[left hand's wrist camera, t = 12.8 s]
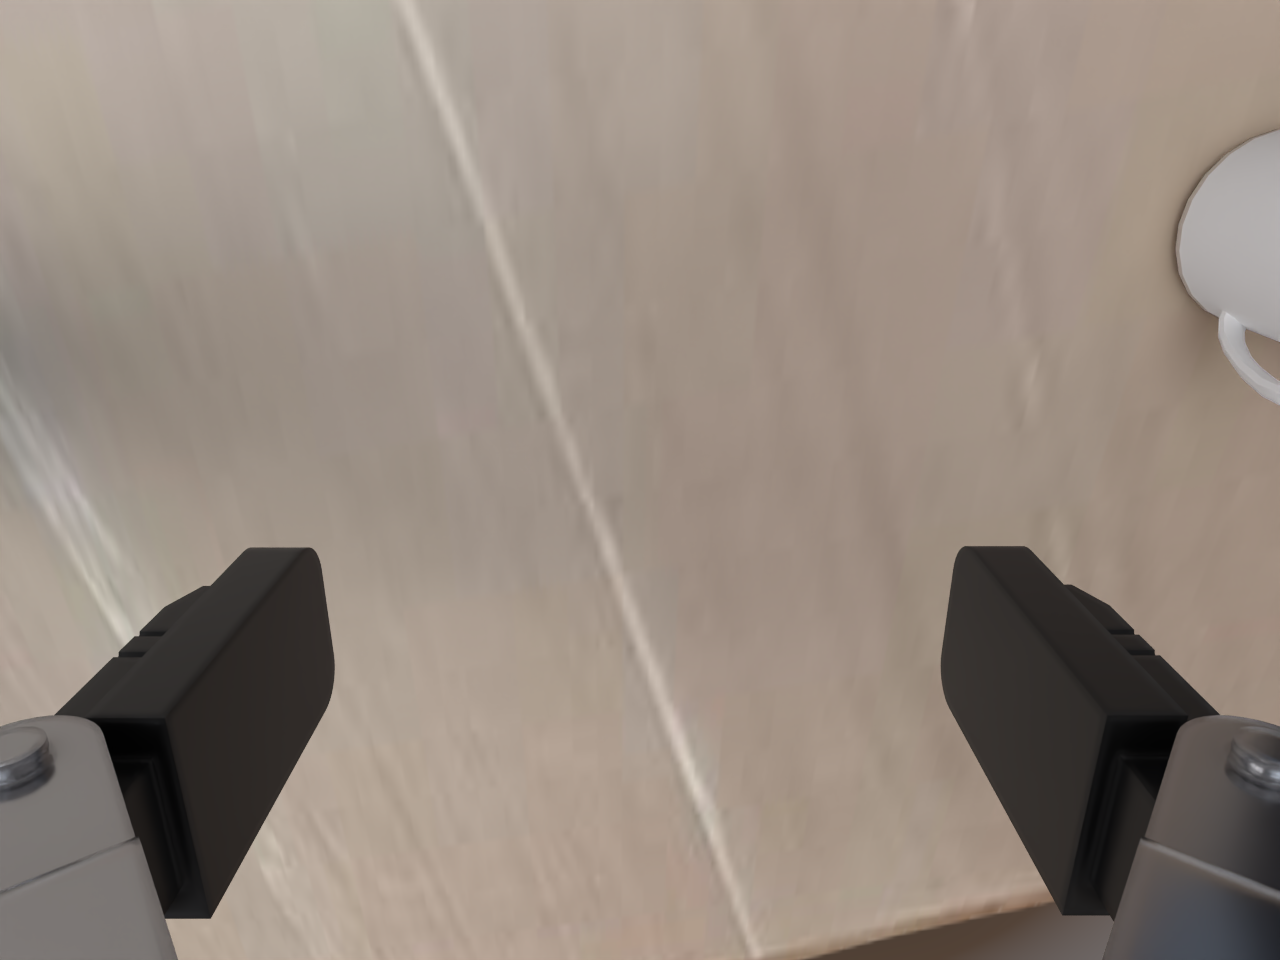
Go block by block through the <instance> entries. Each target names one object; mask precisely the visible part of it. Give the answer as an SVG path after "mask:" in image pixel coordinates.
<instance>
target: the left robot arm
mask: <svg viewBox="0 0 1280 960" xmlns="http://www.w3.org/2000/svg"><path fill="white" fill-rule="evenodd" d="M334 671H335V664H334V653H333V646H332V639H331V632H330V625H329V618H328V611H327V604H326V596H325V589H324V582H323V575H322V569H321V564H320V560H319V558H318V555H317V553H316V552H315V551H314V550H313V549H312V548H248V549H246V550H245V551H244V552H243V553H242V554H241V555H240V556H239V557H238V558H237V559H236V560H235V561H234V562H233V563H232V564H231V565H230V566H229V567H228V568H227V569H226V570H225V572H224V573H223V574H222V575H221V576H220V577H219V578H218V579H217V580H216V581H215V582H214V583H213V584H212V585H211V586H202V587H200V588H199V589H197V590H195V591H193V592H191V593H189V594H188V595H186V596H184V597H182V598H180V599H178V600H177V601H175V602H173V603H171V604H169V605H167V606H166V607H164V608H163V609H162V610H161V611H160V612H159V613H158V614H157V615H156V616H155V617H154V618H153V619H152V620H151V621H150V622H149V623H148V624H147V625H146V626H145V627H144V628H143V629H142V630H141V631H140V636H135V637H134V638H133V639H132V640H131V641H129V642H128V643H127V644H126V645H125V646H124V647H123V648H122V649H121V650H120V651H119V656H118V657H113V658H112V659H111V660H110V661H109V662H108V663H107V664H106V665H105V666H104V667H103V668H102V669H101V670H100V671H99V672H98V673H97V674H96V675H95V676H94V677H93V678H92V679H91V680H90V681H89V682H88V683H87V684H86V685H85V686H84V687H83V688H82V689H81V690H80V691H78V692H77V693H76V694H75V695H74V696H73V697H72V698H71V699H70V700H69V701H68V702H67V703H66V704H65V705H64V706H63V707H62V708H61V709H60V710H59V711H58V712H57V713H56V714H55V715H54V716H43V717H36V718H30V719H25V720H21V721H17V722H13V723H10V724H6V725H3V726H0V960H178V958H177V955H176V952H175V949H174V946H173V942H172V939H171V936H170V933H169V930H168V927H167V923H166V920H165V919H211V917H212V915H213V913H214V912H215V910H216V908H217V906H218V904H219V903H220V901H221V899H222V897H223V895H224V894H225V892H226V890H227V888H228V886H229V884H230V883H231V881H232V879H233V877H234V875H235V874H236V872H237V870H238V868H239V866H240V865H241V863H242V861H243V859H244V857H245V855H246V854H247V852H248V850H249V848H250V846H251V845H252V843H253V841H254V839H255V837H256V836H257V834H258V832H259V830H260V828H261V826H262V825H263V823H264V821H265V819H266V817H267V816H268V814H269V812H270V810H271V808H272V807H273V805H274V803H275V801H276V799H277V798H278V796H279V794H280V792H281V790H282V788H283V787H284V785H285V783H286V781H287V779H288V778H289V776H290V774H291V772H292V770H293V769H294V767H295V765H296V763H297V761H298V759H299V758H300V756H301V754H302V752H303V750H304V749H305V747H306V745H307V743H308V741H309V740H310V738H311V736H312V734H313V732H314V731H315V729H316V727H317V725H318V723H319V721H320V720H321V718H322V716H323V714H324V712H325V711H326V709H327V706H328V704H329V701H330V698H331V694H332V689H333V683H334ZM941 679H942V686H943V691H944V695H945V699H946V702H947V704H948V706H949V708H950V710H951V712H952V714H953V716H954V718H955V719H956V721H957V723H958V725H959V727H960V729H961V730H962V732H963V734H964V736H965V738H966V740H967V741H968V743H969V745H970V747H971V749H972V751H973V752H974V754H975V756H976V758H977V760H978V762H979V763H980V765H981V767H982V769H983V771H984V773H985V774H986V776H987V778H988V780H989V782H990V784H991V785H992V787H993V789H994V791H995V793H996V795H997V796H998V798H999V800H1000V802H1001V804H1002V806H1003V807H1004V809H1005V811H1006V813H1007V815H1008V817H1009V818H1010V820H1011V822H1012V824H1013V826H1014V828H1015V829H1016V831H1017V833H1018V835H1019V837H1020V839H1021V840H1022V842H1023V844H1024V846H1025V848H1026V850H1027V851H1028V853H1029V855H1030V857H1031V859H1032V861H1033V862H1034V864H1035V866H1036V868H1037V870H1038V872H1039V873H1040V875H1041V877H1042V879H1043V881H1044V883H1045V884H1046V886H1047V888H1048V890H1049V892H1050V894H1051V895H1052V897H1053V899H1054V901H1055V903H1056V905H1057V906H1058V908H1059V910H1060V912H1061V914H1062V915H1110V916H1111V918H1112V919H1113V921H1114V924H1113V927H1112V930H1111V933H1110V936H1109V939H1108V942H1107V946H1106V949H1105V952H1104V955H1103V958H1102V960H1280V726H1277V725H1274V724H1270V723H1267V722H1263V721H1259V720H1255V719H1250V718H1244V717H1237V716H1226V715H1220V714H1219V713H1218V712H1217V711H1216V710H1215V709H1214V708H1213V707H1212V706H1211V705H1210V704H1209V703H1208V702H1207V701H1206V700H1205V699H1204V698H1203V697H1202V696H1200V695H1199V694H1198V693H1197V692H1196V691H1195V690H1194V689H1193V688H1192V687H1191V686H1190V685H1189V684H1188V683H1187V682H1186V681H1185V680H1184V679H1183V678H1182V677H1181V676H1180V675H1179V674H1178V673H1177V672H1176V671H1175V670H1174V669H1173V668H1172V667H1171V666H1170V665H1169V664H1168V663H1167V662H1166V661H1165V660H1164V659H1163V658H1162V657H1161V656H1160V655H1155V650H1154V649H1153V648H1152V647H1151V646H1150V645H1149V644H1148V643H1147V642H1146V641H1145V640H1144V639H1143V638H1142V637H1141V636H1140V635H1134V629H1133V628H1132V627H1131V626H1130V625H1129V624H1128V623H1127V622H1126V621H1125V620H1124V619H1123V618H1122V617H1121V616H1120V615H1119V614H1118V613H1117V612H1116V611H1115V610H1114V609H1113V608H1112V607H1111V606H1110V605H1108V604H1106V603H1104V602H1102V601H1100V600H1099V599H1097V598H1095V597H1093V596H1091V595H1089V594H1088V593H1086V592H1084V591H1082V590H1080V589H1078V588H1077V587H1075V586H1073V585H1064V584H1063V583H1062V582H1061V581H1060V580H1059V579H1058V578H1057V577H1056V576H1055V575H1054V574H1053V573H1052V572H1051V571H1050V570H1049V569H1048V568H1047V567H1046V566H1045V565H1044V563H1043V562H1042V561H1041V560H1040V559H1039V558H1038V557H1037V556H1036V555H1035V554H1034V553H1033V552H1032V551H1031V550H1030V549H1029V548H1027V547H1025V546H964V547H962V548H961V549H960V551H959V552H958V554H957V557H956V560H955V563H954V569H953V576H952V583H951V590H950V597H949V604H948V611H947V618H946V625H945V632H944V640H943V647H942V654H941Z"/></svg>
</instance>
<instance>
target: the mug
mask: <svg viewBox="0 0 1280 960" xmlns="http://www.w3.org/2000/svg"><path fill="white" fill-rule="evenodd" d="M1175 250H1176V257H1177V264H1178V272H1179V275H1180V277H1181V279H1182V282H1183V284H1184V286H1185V288H1186V290H1187V292H1188V294H1189V295H1190V296H1191V297H1192V298H1193V299H1194V300H1195V302H1196V303H1197V304H1198V305H1199V306H1200V307H1201V308H1202V309H1203V310H1205V311H1207V312H1209V313H1210V314H1212V315H1214V316H1216V317H1218V318H1219V329H1218V338H1219V341H1220V344H1221V347H1222V349H1223V352H1224V354H1225V356H1226V357H1227V359H1228V360H1229V361H1230V363H1231V364H1232V366H1233V367H1234V369H1235V370H1236V371H1237V373H1238V374H1239V375H1240V377H1241V378H1242V379H1243V380H1244V381H1245V382H1246V383H1247V384H1248V385H1250V386H1251V387H1252V388H1253V389H1254V390H1255V391H1256V392H1257V393H1259V394H1260V395H1261V396H1262V397H1264V398H1266V399H1268V400H1270V401H1272V402H1274V403H1276V404H1278V405H1280V381H1279V380H1277V379H1276V378H1274V377H1273V376H1272V375H1271V374H1269V373H1268V372H1267V371H1266V370H1264V369H1263V368H1262V367H1261V366H1260V365H1259V364H1258V363H1257V362H1256V361H1255V360H1254V359H1253V357H1252V356H1251V354H1250V352H1249V350H1248V347H1247V345H1246V343H1245V330H1246V329H1247V330H1250V331H1253V332H1255V333H1258V334H1260V335H1263V336H1265V337H1268V338H1270V339H1273V340H1275V341H1278V342H1280V129H1276V130H1273V131H1270V132H1268V133H1265V134H1262V135H1259V136H1256V137H1253V138H1251V139H1249V140H1247V141H1246V142H1244V143H1243V144H1241V145H1239V146H1238V147H1236V148H1235V149H1233V150H1231V151H1230V152H1228V153H1227V154H1225V155H1224V156H1223V157H1222V158H1221V159H1220V160H1219V161H1218V162H1217V163H1216V164H1215V165H1214V166H1213V167H1212V168H1211V169H1210V170H1209V171H1208V172H1207V173H1206V174H1205V175H1204V176H1203V178H1202V179H1201V181H1200V182H1199V184H1198V185H1197V187H1196V188H1195V190H1194V191H1193V193H1192V194H1191V196H1190V197H1189V199H1188V201H1187V204H1186V206H1185V209H1184V211H1183V214H1182V217H1181V219H1180V222H1179V225H1178V233H1177V240H1176V248H1175Z"/></svg>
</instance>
